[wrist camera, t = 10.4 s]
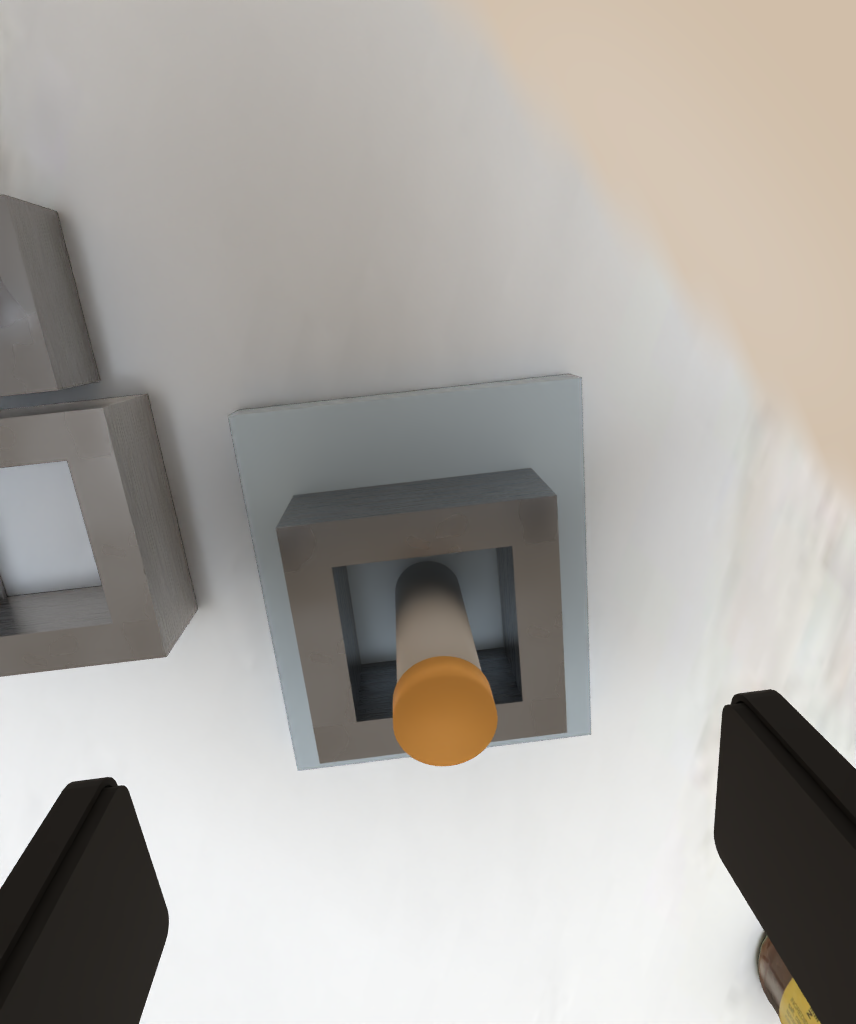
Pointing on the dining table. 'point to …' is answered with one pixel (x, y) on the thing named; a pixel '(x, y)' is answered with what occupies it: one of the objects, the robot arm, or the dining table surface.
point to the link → (101, 540)
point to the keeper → (429, 579)
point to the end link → (416, 533)
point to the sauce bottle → (782, 988)
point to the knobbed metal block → (39, 305)
